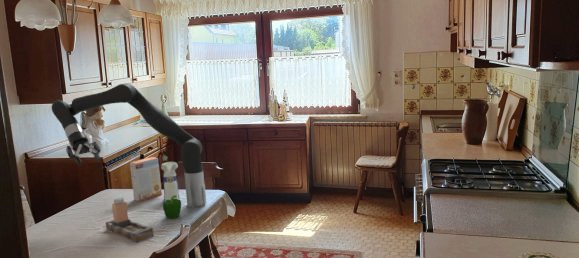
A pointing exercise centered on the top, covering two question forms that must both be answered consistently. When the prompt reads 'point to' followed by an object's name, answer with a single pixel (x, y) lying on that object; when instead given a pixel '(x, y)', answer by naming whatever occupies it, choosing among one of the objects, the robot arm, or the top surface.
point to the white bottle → (170, 179)
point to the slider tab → (120, 213)
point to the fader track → (131, 231)
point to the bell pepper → (172, 207)
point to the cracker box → (145, 178)
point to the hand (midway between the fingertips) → (89, 162)
